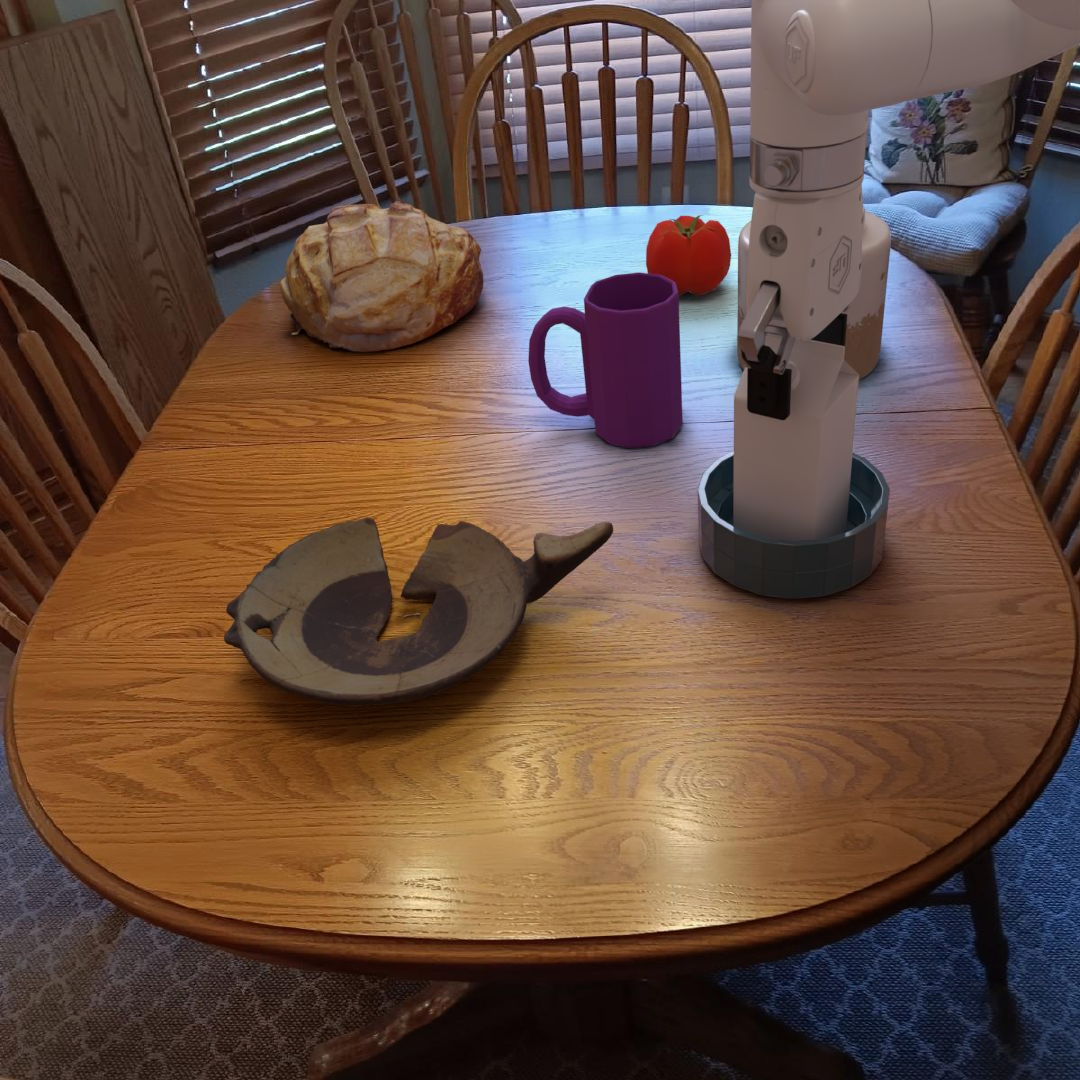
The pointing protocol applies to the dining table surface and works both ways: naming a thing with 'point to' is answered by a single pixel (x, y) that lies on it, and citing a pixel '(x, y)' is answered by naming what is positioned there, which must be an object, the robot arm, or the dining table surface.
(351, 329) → the bread
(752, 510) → the milk carton
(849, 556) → the shallow pet bowl
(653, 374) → the mug
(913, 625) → the dining table surface
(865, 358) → the vase
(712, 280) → the tomato
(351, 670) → the broken pan
